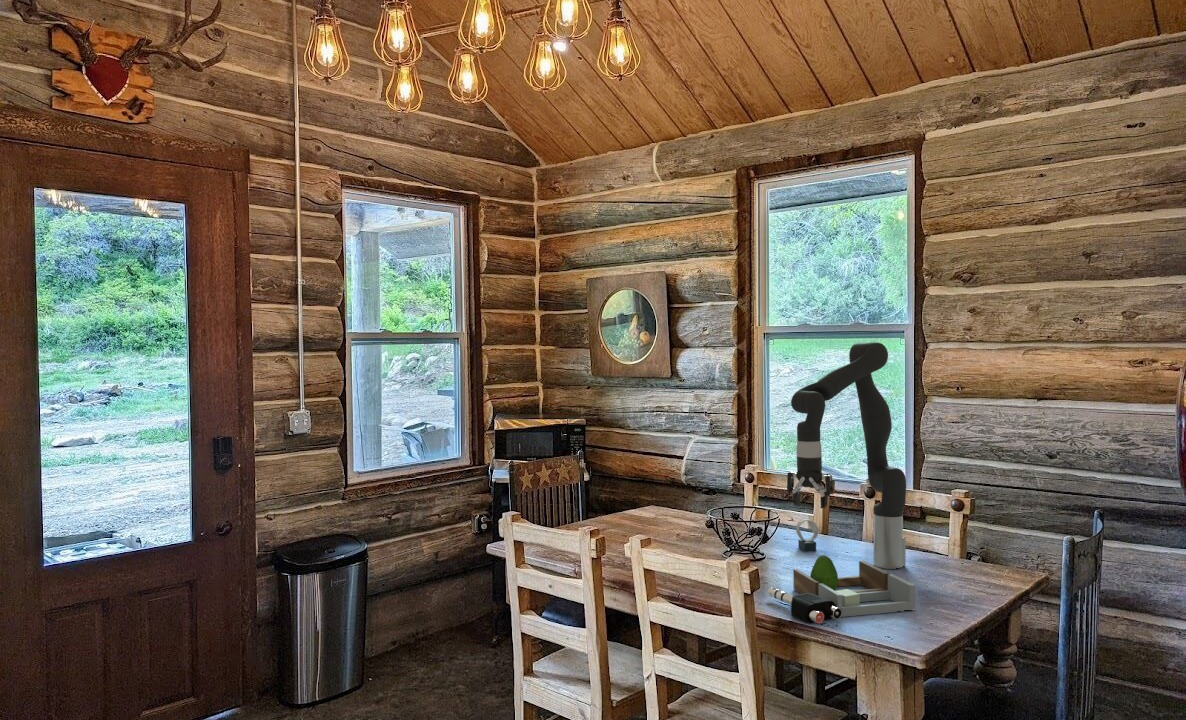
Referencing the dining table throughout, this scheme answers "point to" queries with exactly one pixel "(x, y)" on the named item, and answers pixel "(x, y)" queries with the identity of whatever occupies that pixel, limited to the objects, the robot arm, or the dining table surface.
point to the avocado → (825, 572)
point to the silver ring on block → (807, 544)
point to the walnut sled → (846, 580)
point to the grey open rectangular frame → (876, 598)
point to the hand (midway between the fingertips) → (810, 506)
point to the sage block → (849, 597)
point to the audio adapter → (808, 606)
